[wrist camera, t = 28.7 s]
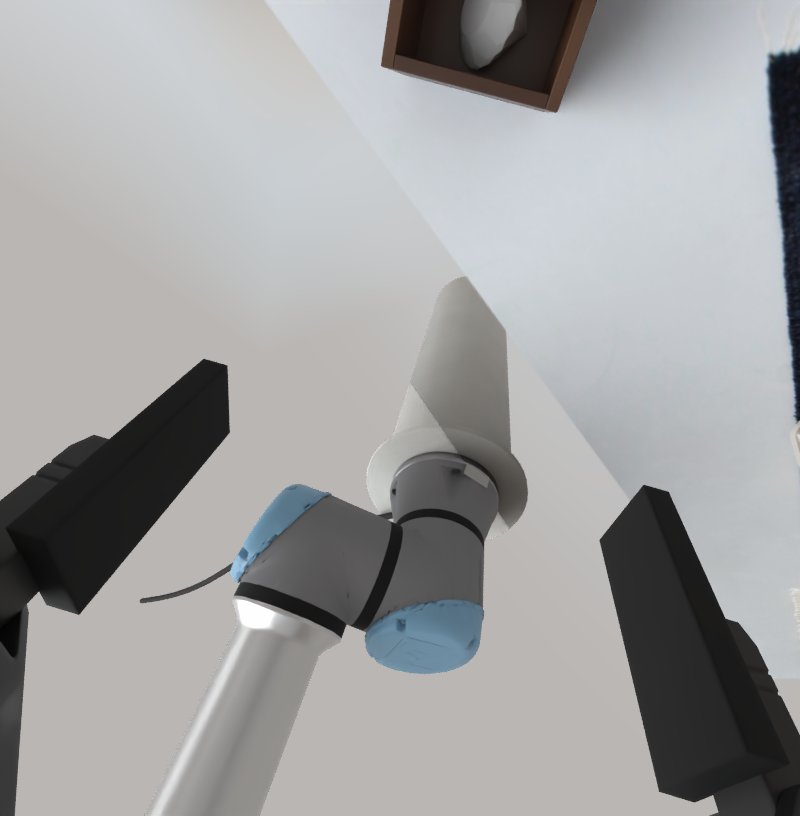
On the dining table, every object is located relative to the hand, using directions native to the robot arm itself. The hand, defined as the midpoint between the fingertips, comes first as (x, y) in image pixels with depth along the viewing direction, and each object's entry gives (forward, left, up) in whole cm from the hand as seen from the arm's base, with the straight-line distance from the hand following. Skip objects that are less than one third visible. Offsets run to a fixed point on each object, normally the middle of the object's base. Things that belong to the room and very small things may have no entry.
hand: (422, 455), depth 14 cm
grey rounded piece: (+8, +12, -32) cm, 35 cm away
